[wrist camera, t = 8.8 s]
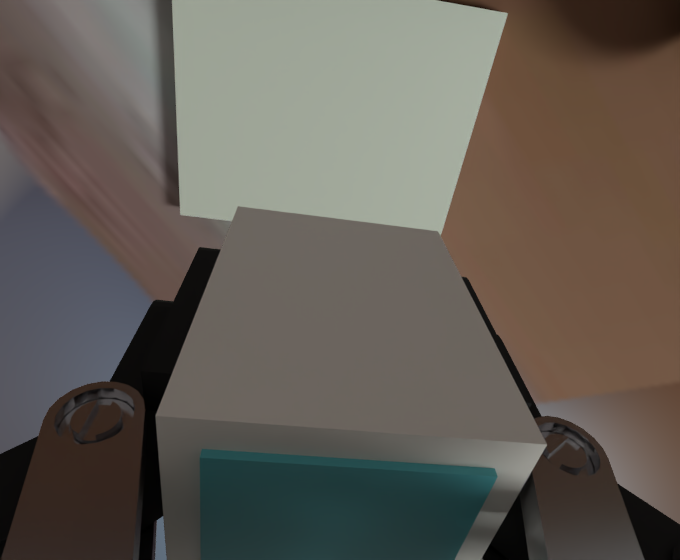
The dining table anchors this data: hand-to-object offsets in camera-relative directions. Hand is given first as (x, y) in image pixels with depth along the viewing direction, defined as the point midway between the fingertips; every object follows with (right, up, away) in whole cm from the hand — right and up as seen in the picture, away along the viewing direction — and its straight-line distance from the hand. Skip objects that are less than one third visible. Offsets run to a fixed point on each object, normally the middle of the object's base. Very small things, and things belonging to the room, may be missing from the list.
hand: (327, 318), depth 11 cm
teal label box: (0, 0, +1) cm, 1 cm away
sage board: (0, +10, +15) cm, 18 cm away
